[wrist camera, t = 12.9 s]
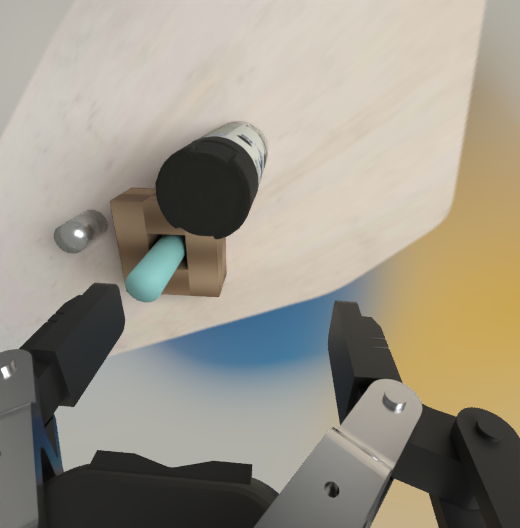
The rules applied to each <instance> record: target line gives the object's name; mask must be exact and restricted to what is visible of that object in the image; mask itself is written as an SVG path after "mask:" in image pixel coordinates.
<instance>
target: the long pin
mask: <svg viewBox="0 0 520 528" xmlns="http://www.w3.org/2000/svg"><path fill="white" fill-rule="evenodd" d="M186 252H187V251H186V239H185V235H169V234H163V236H162V237H161V238H160V239H159V240H158V241H157V243H156V244H155V245H154V246H153V247H152V248H151V250H150V251H149V252H148V253H147V254H146V255H145V257H144V258H143V259H142V260H141V261H140V262H139V263H138V265H137V266H136V267H135V268H134V269H133V270H132V272H131V273H130V274H129V275H128V276H127V278H126V281H125V286H126V289H127V291H128V293H129V294H130V295H131V296H132V297H133V298H135V299H136V300H139V301H142V302H152V301H154V300H156V299H157V298H158V297H159V296H160V294H161V293H162V291H163V290H164V288H165V286H166V285H167V283H168V282H169V280H170V278H171V277H172V275H173V273H174V272H175V270H176V269H177V267H178V265H179V264H180V262H181V261H182V259H183V257H184V256H185V254H186Z"/></svg>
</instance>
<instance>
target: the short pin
mask: <svg viewBox="0 0 520 528" xmlns="http://www.w3.org/2000/svg"><path fill="white" fill-rule="evenodd" d="M106 229H107V221H106V219H105V217H104V216H103V215H102V214H101V213H100V212H98V211H95V210H87V211H85V212H83V213H81V214H80V215H78V216H76V217H75V218H73V219H71V220H70V221H68V222H66V223H65V224H63V225H61V226H59V227H58V228H57V229H56V230H55V232H54V239H55V242H56V243H57V245H58V246H59V247H60V248H61V249H62V250H64V251H66V252H68V253H77V252H79V251H81V250H82V249H83V248H85V247H86V246H87V245H89V244H90V243H91V242H93V241H94V240H95V239H96V238H98V237H99V236H100V235H102V234H103V233H104V232H105V231H106Z"/></svg>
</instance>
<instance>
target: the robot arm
mask: <svg viewBox="0 0 520 528" xmlns="http://www.w3.org/2000/svg"><path fill="white" fill-rule="evenodd" d="M124 325H125V316H124V311H123V306H122V301H121V296H120V290H119V287H118V286H117V285H116V284H105V283H94V284H92V285H91V286H90V287H89V289H88V290H87V291H86V292H85V293H84V294H83V295H78V296H76V297H75V298H73V299H71V300H69V301H68V302H66V303H65V304H64V305H63V306H62V307H61V308H60V309H59V310H58V311H57V312H56V314H53V315H52V316H51V317H50V318H49V319H48V322H45V323H44V324H43V325H42V326H41V327H40V328H39V329H38V330H37V331H36V332H35V333H34V334H33V335H32V336H31V337H30V338H29V339H28V340H27V341H26V342H25V343H24V344H23V345H22V346H21V347H20V348H19V349H14V350H8V351H4V352H1V353H0V528H370V526H371V524H372V522H373V520H374V518H375V516H376V514H377V512H378V510H379V508H380V506H381V504H382V502H383V500H384V498H385V496H386V494H387V492H388V490H389V488H390V486H391V484H392V482H393V480H394V479H397V480H399V481H401V482H404V483H406V484H409V485H411V486H414V487H416V488H418V489H420V490H423V491H425V492H427V493H429V496H430V499H431V502H432V506H433V509H434V513H435V516H436V520H437V523H438V526H439V528H520V438H519V436H518V435H517V433H516V432H515V430H514V429H513V428H512V427H511V426H510V425H509V424H508V423H507V422H505V421H504V420H503V419H502V418H500V417H498V416H497V415H495V414H493V413H491V412H489V411H487V410H483V409H480V408H473V407H471V408H465V409H463V410H461V411H460V412H459V413H458V415H457V417H455V416H452V415H449V414H447V413H443V412H441V411H438V410H435V409H432V408H430V407H427V406H425V405H424V404H422V403H421V401H420V399H419V397H418V396H417V394H416V393H415V392H414V391H413V390H412V389H411V388H409V387H408V386H406V385H405V384H403V383H402V380H401V378H400V375H399V373H398V370H397V367H396V365H395V362H394V360H393V357H392V355H391V352H390V350H389V349H388V344H387V342H386V340H385V337H384V335H383V331H382V329H381V327H380V326H379V325H378V324H377V323H376V322H375V321H374V320H373V319H372V317H363V316H361V313H360V310H359V307H358V304H357V303H356V302H348V301H335V303H334V307H333V313H332V318H331V324H330V329H329V336H328V351H329V357H330V364H331V370H332V377H333V383H334V389H335V396H336V402H337V408H338V415H339V421H340V427H339V428H338V429H335V428H331V429H330V430H329V431H328V432H327V433H326V434H325V435H324V437H323V438H322V440H321V441H320V442H319V443H318V445H317V446H316V447H315V448H314V450H313V451H312V452H311V454H310V455H309V456H308V458H307V459H306V460H305V461H304V463H303V464H302V465H301V467H300V468H299V469H298V471H297V472H296V473H295V474H294V476H293V477H292V478H291V480H290V481H289V482H288V484H287V485H286V486H285V487H284V489H283V490H282V491H281V493H280V494H279V493H277V492H276V491H275V490H274V489H272V488H271V487H270V486H268V485H266V484H265V483H263V482H261V481H259V480H257V479H255V478H252V464H242V463H231V462H220V461H210V462H204V463H199V464H192V465H186V466H180V467H174V468H172V467H167V466H164V465H162V464H159V463H157V462H154V461H152V460H149V459H147V458H144V457H142V456H140V455H137V454H134V453H123V452H112V451H101V450H97V452H96V454H95V456H94V458H93V460H92V461H91V463H90V464H86V465H82V466H79V467H76V468H73V469H71V470H68V471H66V472H64V471H63V466H62V459H61V452H60V445H59V438H58V431H57V424H56V418H55V415H54V412H55V410H56V409H57V408H58V406H70V407H74V406H75V405H76V403H77V402H78V400H79V399H80V397H81V395H82V394H83V393H84V391H85V389H86V388H87V386H88V385H89V383H90V382H91V380H92V379H93V377H94V376H95V374H96V373H97V371H98V369H99V368H100V367H101V365H102V364H103V362H104V360H105V359H106V357H107V356H108V354H109V353H110V351H111V350H112V348H113V347H114V345H115V344H116V342H117V341H118V339H119V338H120V336H121V334H122V332H123V330H124Z"/></svg>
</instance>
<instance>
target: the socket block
mask: <svg viewBox="0 0 520 528" xmlns="http://www.w3.org/2000/svg"><path fill="white" fill-rule="evenodd" d="M110 205H111V210H112V216H113V221H114V226H115V232H116V237H117V242H118V248H119V253H120V258H121V264H122V269H123V274H124V280H125V281H126V278H127V276H128V275H129V274H130V273H131V272H132V270H133V269H134V268H135V267H136V266H137V265H138V263H139V262H140V261H141V260H142V259H143V258H144V257H145V255H146V254H147V253H148V252H149V251H150V250H151V248H152V247H153V246H154V245H155V244H156V243H157V241H158V240H159V239H160V238H161V237H162V236H163V234H169V235H185V239H186V251H187V252H186V254H185V256H184V257H183V259H182V261H181V262H180V264H179V265H178V267H177V269H176V270H175V272H174V273H173V275H172V277H171V278H170V280H169V282H168V283H167V285H166V286H165V288H164V290H163V291H162V293H161V294H171V295H189V296H207V297H219V296H220V293H221V290H222V287H223V283H224V280H225V277H226V240H225V237H224V238H222V239H214V237H213V236H210V237H209V236H198V235H194V234H191V233H188V232H187V231H185V230H184V229H182V228H177V229H175V228H174V227H173V226H171V224H170V223H169V222H168V221H167V220H166V218H165V217H164V215H163V214H162V212H161V210H160V207H159V205H158V202H157V197H156V189H147V188H131V189H129V190H127V191H126V192H124V193H122V194H121V195H119V196H118V197H116V198H114V199H113V200H111V201H110ZM126 290H127V289H126ZM127 292H128V291H127Z"/></svg>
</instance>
